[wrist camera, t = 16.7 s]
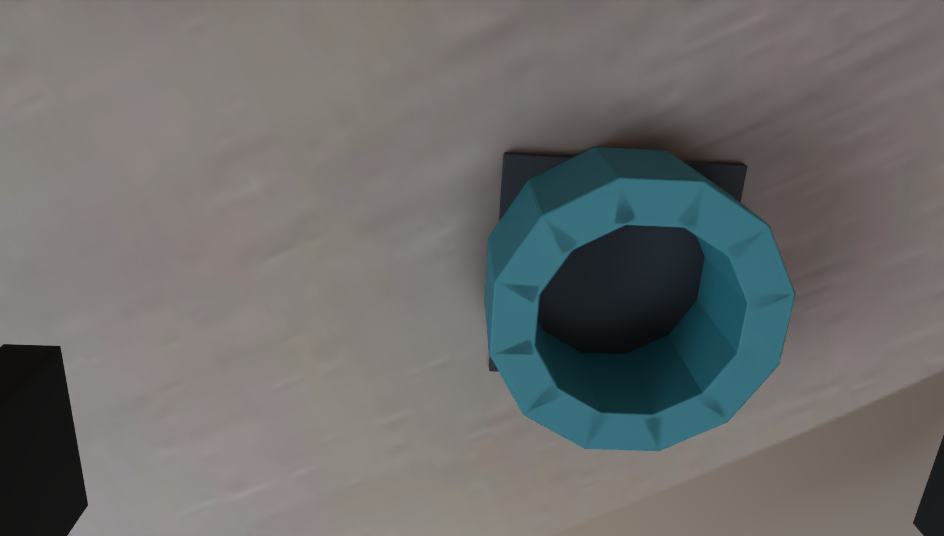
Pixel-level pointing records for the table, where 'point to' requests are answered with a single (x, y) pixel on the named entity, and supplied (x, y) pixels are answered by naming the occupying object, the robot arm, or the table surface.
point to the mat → (619, 271)
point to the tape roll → (658, 363)
